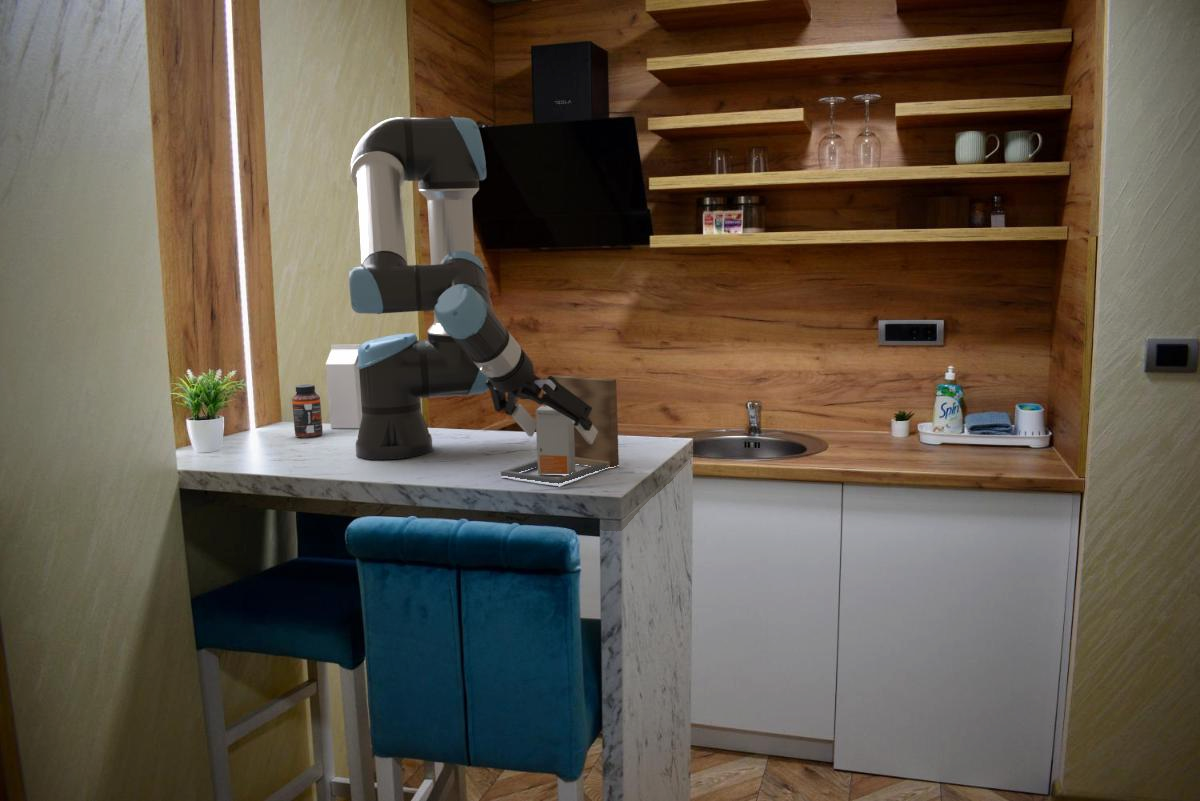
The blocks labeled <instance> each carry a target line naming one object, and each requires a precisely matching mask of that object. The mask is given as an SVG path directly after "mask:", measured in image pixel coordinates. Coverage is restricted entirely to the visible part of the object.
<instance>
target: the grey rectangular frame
mask: <svg viewBox="0 0 1200 801" xmlns="http://www.w3.org/2000/svg"><path fill="white" fill-rule="evenodd" d="M575 464H579V465H578V466H580V465H588V466H591V467H585V468H584V469H580V470H578V471H574V472H573V473H572V474H569V475H566V476H560V477H556V478H555V477H550V476H546V475H538V474H537V475H536V474H530V473H526V472H524V473H519V472H521V471H525V470H528V469H531V468H535V467H538V464H537V459H535V460H532V461H531V460H530V461H528V462H526V463H522V464H520V465H517V466H513V467H510V468H507V469H504V470H501V471H500V477H501V476H508V477H515V478H520V479H527V480H535V481H541V482H549V483H558V484H559V483H563V482H565V481H569V480H572V479H575V478H578V477H581V476H584V475H586V474H589V473H593V472H595V471H599V470H602V469H605V468H608V467H610V462H608V461H601V460H594V459H586V458H579V457H575Z"/></svg>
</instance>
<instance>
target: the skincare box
mask: <svg viewBox="0 0 1200 801" xmlns="http://www.w3.org/2000/svg"><path fill="white" fill-rule="evenodd" d="M535 421H536V430H535V432H536V434H535V435H536V460H537V464H538V468H537V475H538V474H571V473H572V472H573V471H574V470H575V471H576V465H575V444H574V425H573V424H572V421H573V420H572V419H570V418H568V417H567V416H565V415H563V414H561V413H559V412H558V411H556V410H554V409H552V408H551V407H549V406H547V405H540V406H539V407H538V408H537V409H535ZM575 471H574V472H575ZM574 472H573V473H574Z"/></svg>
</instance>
